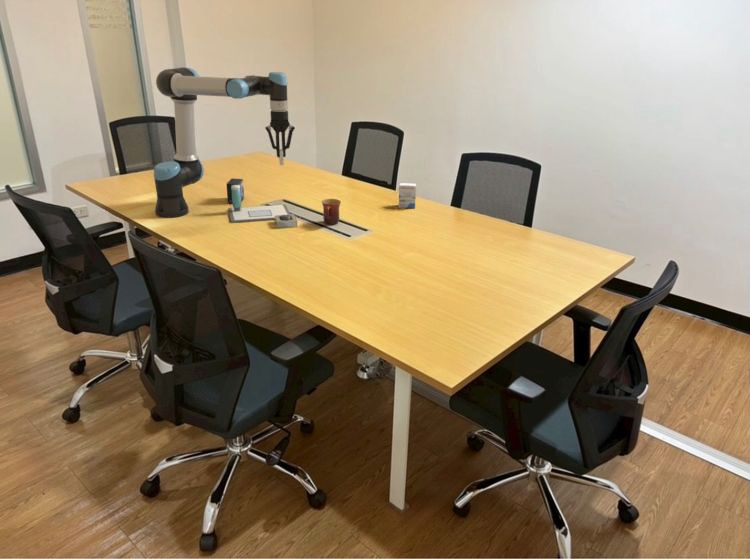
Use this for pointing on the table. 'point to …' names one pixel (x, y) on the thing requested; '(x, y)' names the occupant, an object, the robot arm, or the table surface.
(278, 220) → the button housing
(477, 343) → the table surface
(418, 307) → the table surface
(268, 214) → the sheet
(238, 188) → the marker
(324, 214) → the mug
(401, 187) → the ink box
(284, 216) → the button
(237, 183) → the small box
